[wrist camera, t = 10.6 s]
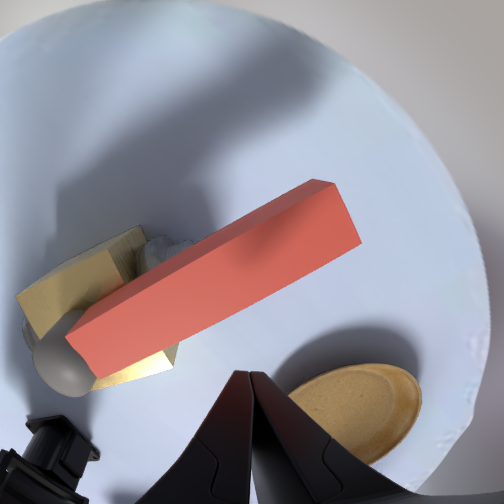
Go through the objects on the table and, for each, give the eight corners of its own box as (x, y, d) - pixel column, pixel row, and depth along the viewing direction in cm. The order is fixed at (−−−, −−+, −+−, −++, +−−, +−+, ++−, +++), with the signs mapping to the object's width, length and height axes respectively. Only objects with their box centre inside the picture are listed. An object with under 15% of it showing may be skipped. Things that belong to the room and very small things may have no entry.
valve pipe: (77, 355, 22) (44, 405, 16) (33, 278, 20) (-16, 314, 14) (224, 302, 22) (224, 355, 15) (181, 206, 20) (160, 225, 13)
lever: (83, 370, 15) (64, 404, 12) (48, 324, 14) (21, 353, 11) (339, 234, 14) (366, 252, 11) (307, 170, 13) (329, 172, 10)
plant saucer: (240, 459, 27) (242, 479, 24) (279, 337, 23) (285, 356, 20) (372, 458, 28) (379, 474, 26) (433, 350, 25) (448, 365, 22)
